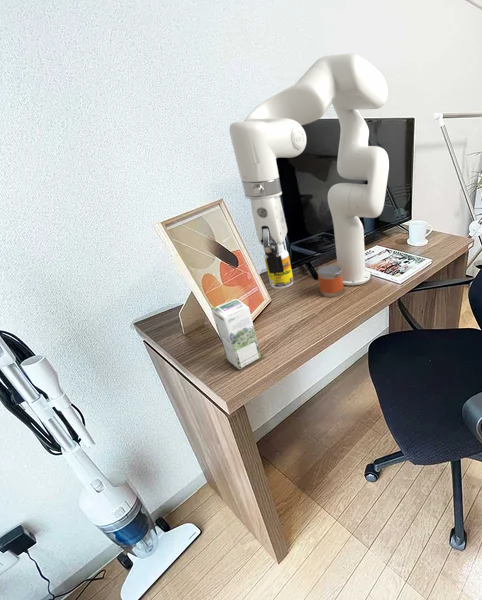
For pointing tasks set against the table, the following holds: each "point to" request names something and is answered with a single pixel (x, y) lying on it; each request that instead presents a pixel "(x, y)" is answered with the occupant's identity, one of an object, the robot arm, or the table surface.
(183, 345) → the table surface
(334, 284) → the tin can
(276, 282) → the supplement bottle
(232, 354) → the syrup box
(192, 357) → the table surface
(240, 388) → the table surface
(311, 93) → the robot arm
